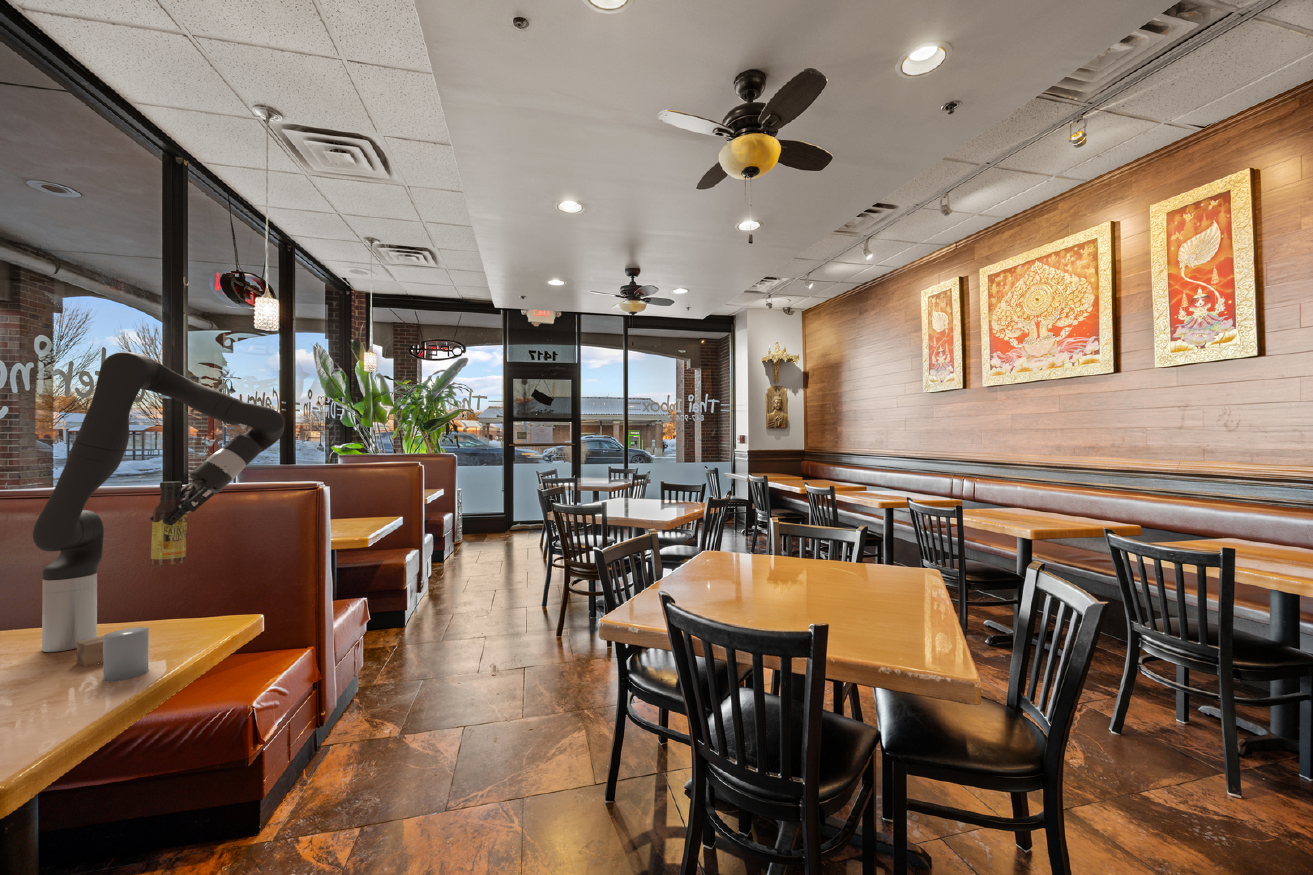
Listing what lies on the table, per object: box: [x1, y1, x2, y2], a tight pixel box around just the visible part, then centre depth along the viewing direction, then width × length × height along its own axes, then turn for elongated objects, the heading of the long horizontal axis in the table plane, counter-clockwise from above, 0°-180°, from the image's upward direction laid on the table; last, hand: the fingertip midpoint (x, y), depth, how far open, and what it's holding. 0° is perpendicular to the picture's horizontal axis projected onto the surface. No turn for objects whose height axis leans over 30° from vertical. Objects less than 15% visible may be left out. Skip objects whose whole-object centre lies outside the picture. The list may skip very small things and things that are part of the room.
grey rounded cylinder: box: [102, 626, 150, 682], centre depth 116 cm, size 7×7×9 cm
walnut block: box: [76, 635, 104, 668], centre depth 124 cm, size 5×5×5 cm
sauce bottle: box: [150, 481, 188, 568], centre depth 130 cm, size 7×6×20 cm
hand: (160, 522), depth 128 cm, fingers closed on sauce bottle, 6 cm apart
